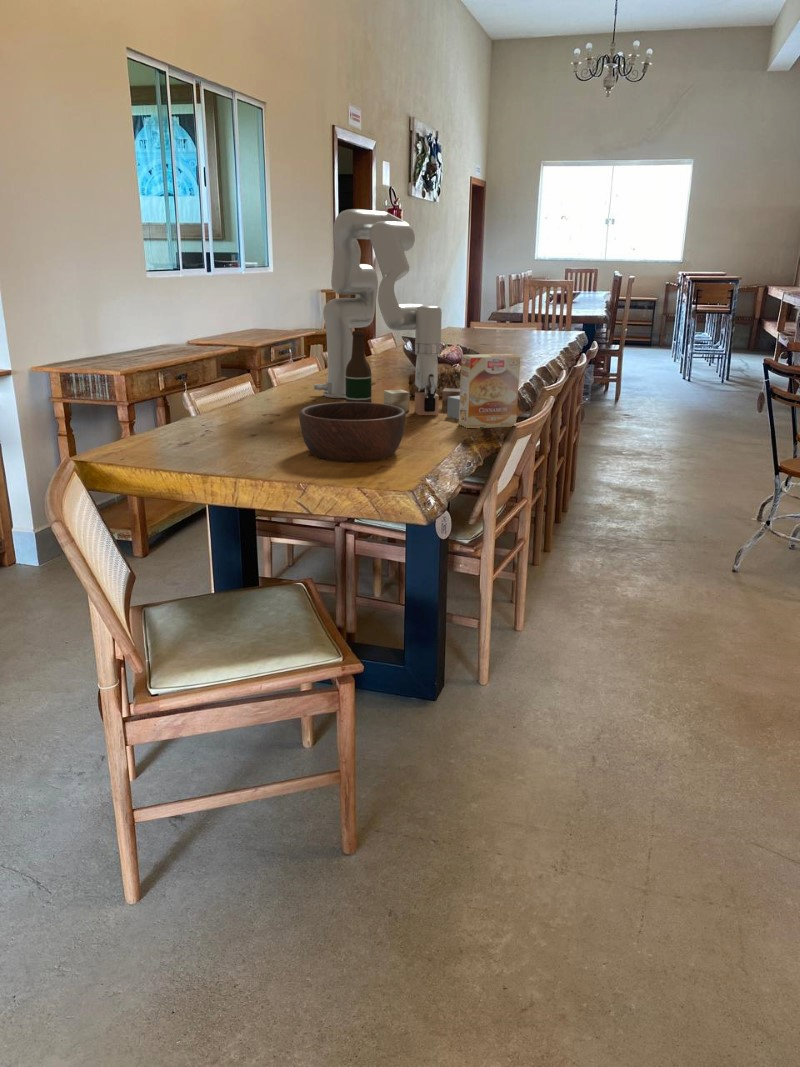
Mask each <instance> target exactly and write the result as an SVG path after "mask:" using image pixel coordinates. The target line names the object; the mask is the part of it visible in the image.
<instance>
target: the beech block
mask: <svg viewBox="0 0 800 1067" xmlns="http://www.w3.org/2000/svg"><path fill="white" fill-rule="evenodd" d="M410 397H411V395H410V392H409V391H407V390H404V389H388V390H383V404H387V405H393V406H396V407H399V408H402V409H403V410H404V411H405V413H408V412H407V411H409V412H410V401H411V400H410Z"/></svg>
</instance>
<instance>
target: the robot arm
mask: <svg viewBox="0 0 800 1067" xmlns="http://www.w3.org/2000/svg"><path fill="white" fill-rule="evenodd" d="M332 230H333V231H332V233H333V245H334V246H333V247H334V248H333V249H334V251H333V258H332V268H331V269H332V270H331V289H332V290H333V292H334V293H336V294H338V295H342V296H343V295H344V296H345V295H346V296H349V295H353V296H354V295H355V297H352V298H351V297H340V298H339V297H337V298H333V299H330V300H328V301H327V302H326V303H325V305H324V307H323V312H322V314H323V319H324V325H325V332H326V349H327V350H326V353H327V354H326V355H327V357H326V358H327V360H326V361H327V380H326V381H325V382H324V383H322V384H321V383H317V384H316V383H314V384H313V390H314V391H323V396H324V397H326V398H330V399H331V398H333V399H346V368H347V365H348V363H349V361H350V360H351V357H352V344H353V335H352V332H353V331H352V330H351V329H356V328H357V329H359V328H366V327H369V326H370V325H371V323H372V322H373V320H374V317H375V314H376V313H375V310H376V305H377V302H378V307H379V310H380V314H381V317H382V318H383V322H384V324H385V325H386V326H387V327H388V329H390V330H392V331H415V336H414V337H415V339H414V341H415V342H414V354H415V355H416V362H415V370H416V374H415V385H416V386H417V387H418V388H419V390H418V392H419V393H425V395H426V398H425V400H424V411H425V412H434V411H435V399H436V398H435V397H436V395H435V389H436V388H437V381H438V364H439V362H438V356H441V355H442V354H441V350H442V349H441V348H442V346H441V344H442V314H443V313H442V308H441V307H440V306H437V305H426V304H422V303H399V302H398V299H397V297H396V294H395V284H396V282H397V281H400V280H402V278H404V277H406V275H408V273H409V271H410V264H409V262H408V260H407V255H406V252H408V251H410V250H411V249H412V248H413V247H414V244H415V243H416V242H415V241H416V237H415V231H414V229H413V228H412V225H410V224H409V223H408V222H407V221H404V220H403V219H401V218H400V217H398V216H395V215H393V214H391V213H390V212H387V211H383V210H372V209H361V208H351V209H350V208H349V209H345V210H342V211H341V212H340V213H338V214H337V216H336V218H335V220H334V223H333V229H332ZM358 240H370V244H371V246H372V249H373V252H374V255H375V258H376V261H377V264H378V267H379V270H380V272H381V276H382V277H381V280H380V283H379V279H378V278H379V277H378V274H377V271H376V270H375V268H374V267H373V266H372V265H370V264H367V263H361V256H362V252H361V247H360V244H359V242H358Z"/></svg>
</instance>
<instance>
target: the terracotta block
mask: <svg viewBox="0 0 800 1067" xmlns="http://www.w3.org/2000/svg"><path fill="white" fill-rule="evenodd" d="M435 395H436V397H435V398H436V399H435V411H434V412H425V411H424V400H425V398H426V395H425V393H415V397H414V413H415V412H416V413H417V414H418V415H436V416H439V409H440V408H439V405H440V404H439V402H440V400H439V399H440V397H439V395H437V394H436V393H435ZM416 413H415V414H416ZM417 414H416V415H417ZM418 415H417V416H418Z"/></svg>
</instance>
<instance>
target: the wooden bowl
mask: <svg viewBox="0 0 800 1067" xmlns="http://www.w3.org/2000/svg"><path fill="white" fill-rule="evenodd" d="M406 416H407V412H405V411H404V410H403V409H402V408H399V407H396V406H393V405H387V404H384V403H381V402H380V403H378V402H371V403H369V402H346V401H336V402H326V403H325V402H324V403H316V404H311V405H308V406H304V407H303V408H300V410H299V412H298V417H299V424H300V430H301V434H302V439H303V442H304V444H305V446H306V448H307V450H308V451H309V452H310V454H312V456H314V457H315V456H316V458H318V459H321V460H326V461H330V462H331V461H332V462H340V463H341V462H344V463H362V462H363V463H365V462H374V461H379V460H380V461H381V460H385V459H388V458H389V457H392V456H393V455H394V454H395V453H396V451H397V450H398V448H399V446H400V444H401V442H402V439H403V435H404V430H405V424H406V419H407V418H406Z"/></svg>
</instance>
